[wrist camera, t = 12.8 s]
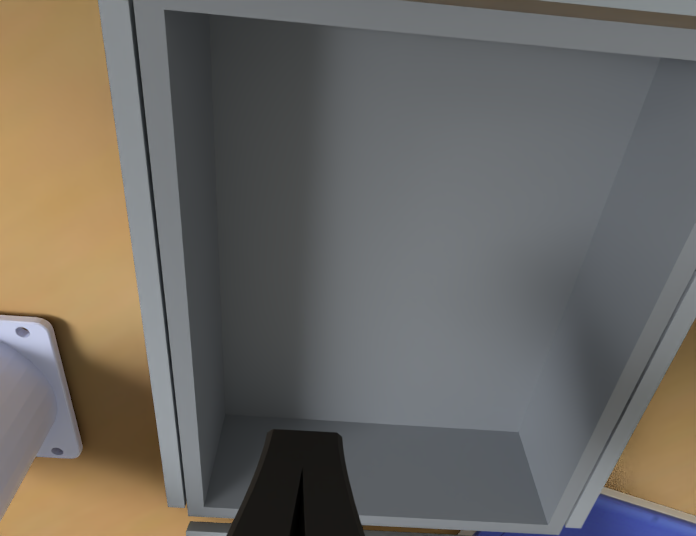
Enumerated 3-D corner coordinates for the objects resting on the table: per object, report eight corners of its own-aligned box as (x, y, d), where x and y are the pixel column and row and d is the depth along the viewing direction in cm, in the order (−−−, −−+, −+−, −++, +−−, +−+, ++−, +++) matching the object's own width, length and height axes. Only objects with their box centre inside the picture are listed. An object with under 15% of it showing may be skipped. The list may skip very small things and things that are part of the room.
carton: (198, 411, 25) (169, 515, 21) (162, -54, 15) (93, -31, 11) (540, 432, 26) (576, 536, 22) (716, 3, 16) (844, 44, 12)
